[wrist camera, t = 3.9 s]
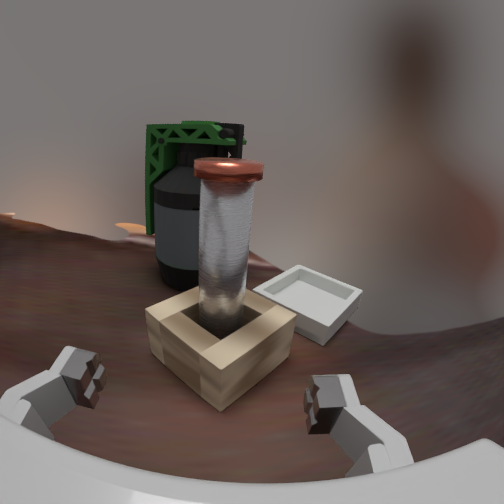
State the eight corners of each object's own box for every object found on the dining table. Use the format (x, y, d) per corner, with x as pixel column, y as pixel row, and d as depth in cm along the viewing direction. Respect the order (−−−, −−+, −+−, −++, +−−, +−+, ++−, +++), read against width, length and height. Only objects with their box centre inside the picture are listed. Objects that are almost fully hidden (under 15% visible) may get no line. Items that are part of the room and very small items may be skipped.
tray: (323, 345, 28) (328, 326, 27) (250, 307, 33) (252, 289, 32) (357, 307, 35) (363, 290, 34) (295, 280, 40) (298, 264, 39)
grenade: (167, 249, 46) (169, 122, 38) (245, 267, 42) (258, 125, 35) (125, 277, 37) (119, 122, 29) (214, 305, 33) (223, 120, 25)
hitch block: (220, 412, 20) (221, 369, 18) (151, 352, 25) (144, 308, 23) (288, 356, 26) (297, 314, 24) (219, 316, 31) (221, 275, 29)
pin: (219, 383, 22) (229, 167, 16) (184, 355, 25) (180, 159, 18) (255, 357, 26) (277, 164, 19) (219, 334, 28) (228, 156, 22)
